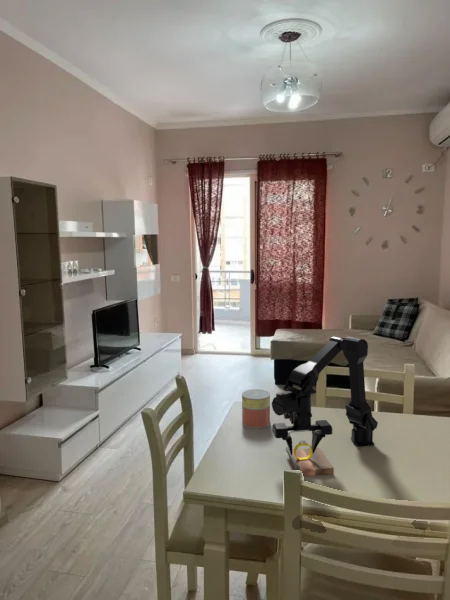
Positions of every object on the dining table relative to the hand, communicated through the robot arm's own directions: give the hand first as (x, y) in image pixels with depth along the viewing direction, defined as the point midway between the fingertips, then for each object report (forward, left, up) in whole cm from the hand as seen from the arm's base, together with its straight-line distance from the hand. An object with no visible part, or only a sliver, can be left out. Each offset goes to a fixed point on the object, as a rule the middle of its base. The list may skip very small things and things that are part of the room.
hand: (301, 453), depth 150 cm
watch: (0, 0, -2) cm, 2 cm away
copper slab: (-2, 0, -4) cm, 5 cm away
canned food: (+9, -36, -4) cm, 37 cm away
